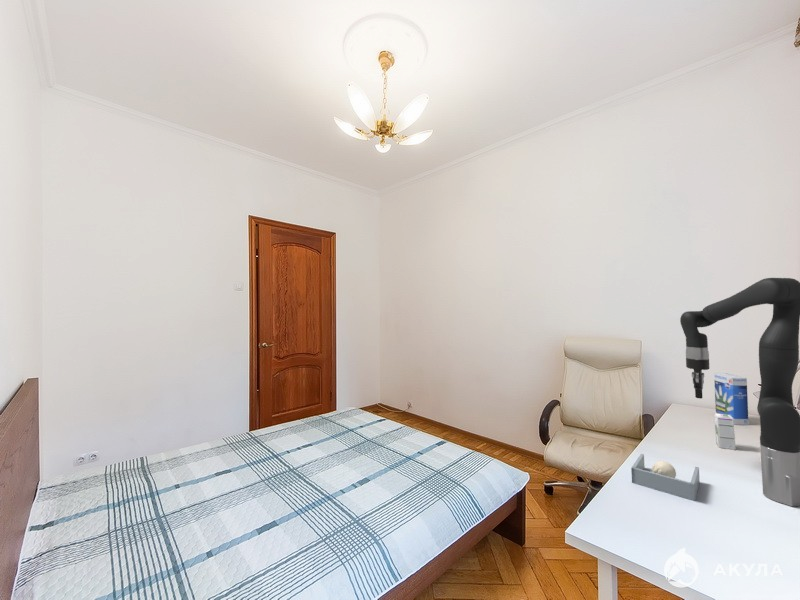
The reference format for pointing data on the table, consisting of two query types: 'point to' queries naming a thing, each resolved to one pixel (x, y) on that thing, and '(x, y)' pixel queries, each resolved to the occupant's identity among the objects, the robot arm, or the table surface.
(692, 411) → the table surface
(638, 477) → the grey u-shaped frame
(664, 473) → the cream rounded lump
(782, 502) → the robot arm
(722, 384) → the string lights box
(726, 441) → the syrup box
